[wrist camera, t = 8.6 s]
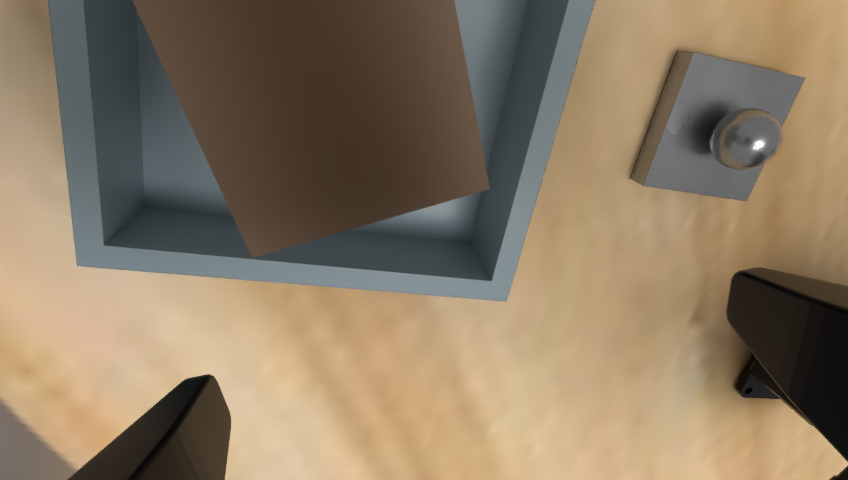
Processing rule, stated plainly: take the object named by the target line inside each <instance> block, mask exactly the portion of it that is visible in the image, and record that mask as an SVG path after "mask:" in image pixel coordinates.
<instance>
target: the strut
mask: <svg viewBox="0 0 848 480" xmlns="http://www.w3.org/2000/svg"><path fill="white" fill-rule="evenodd" d="M133 3H134V5H135V7H136V9H137V11H138V13H139V16H140V18H141V20H142V22H143V24H144V26H145V28H146V31H147V33H148V35H149V37H150V39H151V41H152V43H153V46H154V48H155V50H156V52H157V54H158V56H159V59H160V61H161V63H162V65H163V67H164V69H165V71H166V74H167V76H168V78H169V80H170V82H171V84H172V87H173V89H174V91H175V93H176V95H177V97H178V99H179V102H180V104H181V106H182V108H183V110H184V112H185V114H186V117H187V119H188V121H189V123H190V125H191V127H192V130H193V132H194V134H195V136H196V138H197V140H198V142H199V145H200V147H201V149H202V151H203V153H204V155H205V157H206V160H207V162H208V164H209V166H210V168H211V170H212V173H213V175H214V177H215V179H216V181H217V183H218V185H219V188H220V190H221V192H222V194H223V196H224V198H225V201H226V203H227V205H228V207H229V209H230V211H231V213H232V216H233V218H234V220H235V222H236V224H237V226H238V228H239V231H240V233H241V235H242V237H243V239H244V241H245V244H246V246H247V248H248V250H249V252H250V254H251V256H252V258H254V257H258V256H261V255H265V254H268V253H271V252H275V251H278V250H282V249H285V248H289V247H292V246H296V245H299V244H302V243H306V242H309V241H313V240H316V239H320V238H323V237H327V236H330V235H334V234H337V233H340V232H344V231H347V230H351V229H354V228H358V227H361V226H365V225H368V224H371V223H375V222H378V221H382V220H385V219H389V218H392V217H396V216H399V215H402V214H406V213H409V212H413V211H416V210H420V209H423V208H427V207H430V206H434V205H437V204H440V203H444V202H447V201H451V200H454V199H458V198H461V197H465V196H468V195H471V194H475V193H478V192H482V191H485V190H489V189H490V186H489V180H488V175H487V170H486V165H485V159H484V154H483V149H482V144H481V138H480V133H479V128H478V122H477V117H476V112H475V107H474V101H473V96H472V91H471V86H470V80H469V75H468V70H467V65H466V59H465V54H464V49H463V44H462V38H461V33H460V28H459V22H458V17H457V12H456V7H455V1H454V0H133Z"/></svg>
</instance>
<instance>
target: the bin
mask: <svg viewBox="0 0 848 480" xmlns="http://www.w3.org/2000/svg"><path fill="white" fill-rule="evenodd" d="M454 1H455V7H456V12H457V17H458V22H459V28H460V33H461V38H462V44H463V49H464V54H465V59H466V65H467V70H468V75H469V80H470V86H471V91H472V96H473V101H474V107H475V112H476V117H477V122H478V128H479V133H480V138H481V144H482V149H483V154H484V159H485V165H486V170H487V175H488V180H489V186H490V189H489V190H485V191H482V192H478V193H475V194H471V195H468V196H465V197H461V198H458V199H454V200H451V201H447V202H444V203H440V204H437V205H434V206H430V207H427V208H423V209H420V210H416V211H413V212H409V213H406V214H402V215H399V216H396V217H392V218H389V219H385V220H382V221H378V222H375V223H371V224H368V225H365V226H361V227H358V228H354V229H351V230H347V231H344V232H340V233H337V234H334V235H330V236H327V237H323V238H320V239H316V240H313V241H309V242H306V243H302V244H299V245H296V246H292V247H289V248H285V249H282V250H278V251H275V252H271V253H268V254H265V255H261V256H258V257H254V258H252V256H251V254H250V252H249V250H248V248H247V246H246V244H245V241H244V239H243V237H242V235H241V233H240V231H239V228H238V226H237V224H236V222H235V220H234V218H233V216H232V213H231V211H230V209H229V207H228V205H227V203H226V201H225V198H224V196H223V194H222V192H221V190H220V188H219V185H218V183H217V181H216V179H215V177H214V175H213V173H212V170H211V168H210V166H209V164H208V162H207V160H206V157H205V155H204V153H203V151H202V149H201V147H200V145H199V142H198V140H197V138H196V136H195V134H194V132H193V130H192V127H191V125H190V123H189V121H188V119H187V117H186V114H185V112H184V110H183V108H182V106H181V104H180V102H179V99H178V97H177V95H176V93H175V91H174V89H173V87H172V84H171V82H170V80H169V78H168V76H167V74H166V71H165V69H164V67H163V65H162V63H161V61H160V59H159V56H158V54H157V52H156V50H155V48H154V46H153V43H152V41H151V39H150V37H149V35H148V33H147V31H146V28H145V26H144V24H143V22H142V20H141V18H140V16H139V13H138V11H137V9H136V7H135V5H134V3H133V0H48V5H49V14H50V23H51V32H52V41H53V51H54V60H55V69H56V78H57V87H58V96H59V105H60V115H61V124H62V133H63V142H64V151H65V160H66V169H67V179H68V188H69V197H70V206H71V215H72V224H73V233H74V243H75V252H76V261H77V266H83V267H95V268H107V269H119V270H131V271H143V272H156V273H168V274H180V275H192V276H204V277H216V278H228V279H240V280H252V281H265V282H277V283H289V284H301V285H313V286H325V287H337V288H349V289H361V290H374V291H386V292H398V293H410V294H422V295H434V296H446V297H458V298H470V299H483V300H495V301H507V298H508V295H509V291H510V288H511V284H512V281H513V278H514V274H515V271H516V267H517V264H518V261H519V257H520V254H521V250H522V247H523V244H524V240H525V237H526V233H527V230H528V227H529V223H530V220H531V216H532V213H533V210H534V206H535V203H536V199H537V196H538V193H539V189H540V186H541V182H542V179H543V176H544V172H545V169H546V165H547V162H548V159H549V155H550V152H551V148H552V145H553V142H554V138H555V135H556V131H557V128H558V125H559V121H560V118H561V114H562V111H563V108H564V104H565V101H566V97H567V94H568V91H569V87H570V84H571V80H572V77H573V73H574V70H575V67H576V63H577V60H578V56H579V53H580V50H581V46H582V43H583V39H584V36H585V33H586V29H587V26H588V22H589V19H590V16H591V12H592V9H593V5H594V2H595V0H454Z"/></svg>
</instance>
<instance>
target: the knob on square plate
mask: <svg viewBox="0 0 848 480" xmlns="http://www.w3.org/2000/svg"><path fill="white" fill-rule="evenodd" d="M804 80H805V78H804V77H799V76H795V75H791V74H786V73H782V72H778V71H773V70H769V69H765V68H760V67H756V66H751V65H747V64H743V63H738V62H734V61H730V60H725V59H721V58H716V57H712V56H708V55H703V54H699V53H695V52H682V51H677V54H676V57H675V59H674V62H673V65H672V67H671V70H670V73H669V76H668V78H667V81H666V84H665V86H664V89H663V92H662V94H661V97H660V100H659V103H658V105H657V108H656V111H655V113H654V116H653V119H652V122H651V124H650V127H649V130H648V132H647V135H646V138H645V141H644V143H643V146H642V149H641V151H640V154H639V157H638V160H637V162H636V165H635V168H634V170H633V173H632V176H631V179H632V180H634V181H635V182H637V183H639V184H641V185H643V186H649V187H656V188H662V189H669V190H675V191H682V192H689V193H695V194H702V195H709V196H715V197H722V198H728V199H735V200H742V201H747V199H748V197H749V195H750V193H751V191H752V189H753V187H754V184H755V182H756V180H757V178H758V176H759V174H760V172H761V170H762V168H763V166H764V163H766V162H767V161H769V160H770V159H771V158H772V157H773V156H774V155H775V154H776V153H777V151H778V150H779V148H780V145H781V143H782V137H783V134H782V126H783V124H784V122H785V119H786V117H787V115H788V113H789V111H790V109H791V107H792V105H793V103H794V101H795V98H796V96H797V94H798V92H799V90H800V88H801V86H802V84H803V82H804Z"/></svg>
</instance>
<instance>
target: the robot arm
mask: <svg viewBox="0 0 848 480" xmlns="http://www.w3.org/2000/svg"><path fill="white" fill-rule="evenodd" d="M726 314H727V319H728V321H729V323H730V325H731V326H732V328H733V329H734V330H735V331H736V333H737V334H738V335H739V337H740V338H741V339H742V340H743V342H744V343H745V344H746V346H747V347H748V348H749V349H750V351H751V352H752V353H753V354H754V355H753V357H752V359H751V360H750V362H749V364H748V366H747V368H746V369H745V371H744V373H743V375H742V377H741V378H740V380H739V382H738V384H737V386H736V391H737V392H738V393H739V394H740V395H741V396H742V397H745V398H769V399H781V400H782V401H783V402H784V403H786V404H787V405H788V406H789V407H790V408H791V409H793V410H794V411H795V412H796V413H797V414H798V415H800V416H801V417H802V418H803V419H804V420H806V421H807V422H808V423H809V424H810V425H812V426H814V427H815V428H816V429H817V430H818V431H819V432H820V433H821V434H822V435H823V436H824V437H825V438H826V439H827V440H828V441H829V442H830V443H831V445H832V446H833V447H834V448H835V449H836V450H837V451H838V452H839V453H840V454H841V455H842V456H843V457H844V458H845V459H846V461H847V462H848V286H844V285H839V284H835V283H830V282H825V281H821V280H816V279H812V278H807V277H803V276H798V275H794V274H789V273H784V272H780V271H775V270H771V269H766V268H752V269H747V270H742V271H738V272H737V273H735V274H734V275H733V277H732V280H731V285H730V291H729V297H728V303H727V309H726ZM230 431H231V416H230V412H229V409H228V407H227V404H226V402H225V399H224V397H223V394H222V392H221V389H220V387H219V385H218V382H217V380H216V379H215V377H214V376H212V375H209V374H208V375H202V376H197V377H192V378H188V379H185V380H184V381H182V382H181V383H180V384H179V385H178V386H176V387H175V388H174V389H173V390H172V391H171V392H169V393H168V394H167V395H166V396H165V397H164V398H162V399H161V400H160V401H159V402H158V403H156V404H155V405H154V406H153V407H152V408H151V409H149V410H148V411H147V412H146V413H145V414H144V415H142V416H141V417H140V418H139V419H138V420H137V421H135V422H134V423H133V424H132V425H131V426H130V427H128V428H127V429H126V430H125V431H124V432H122V433H121V434H120V435H119V436H118V437H117V438H115V439H114V440H113V441H112V442H111V443H110V444H108V445H107V446H106V447H105V448H104V449H103V450H101V451H100V452H99V453H98V454H97V455H96V456H94V457H93V458H92V459H91V460H90V461H88V462H87V463H86V464H85V465H84V466H83V467H81V468H80V469H79V470H78V471H77V472H76V473H74V474H73V475H72V476H71V477H70V478H69V479H68V480H225V473H226V464H227V456H228V447H229V439H230ZM830 480H848V466H847V467H846V468H845V469H844V470H843V471H842V472H841V473H840V474H839V475H837V476H835V475H834V476H833V477H832V478H831V479H830Z"/></svg>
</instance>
